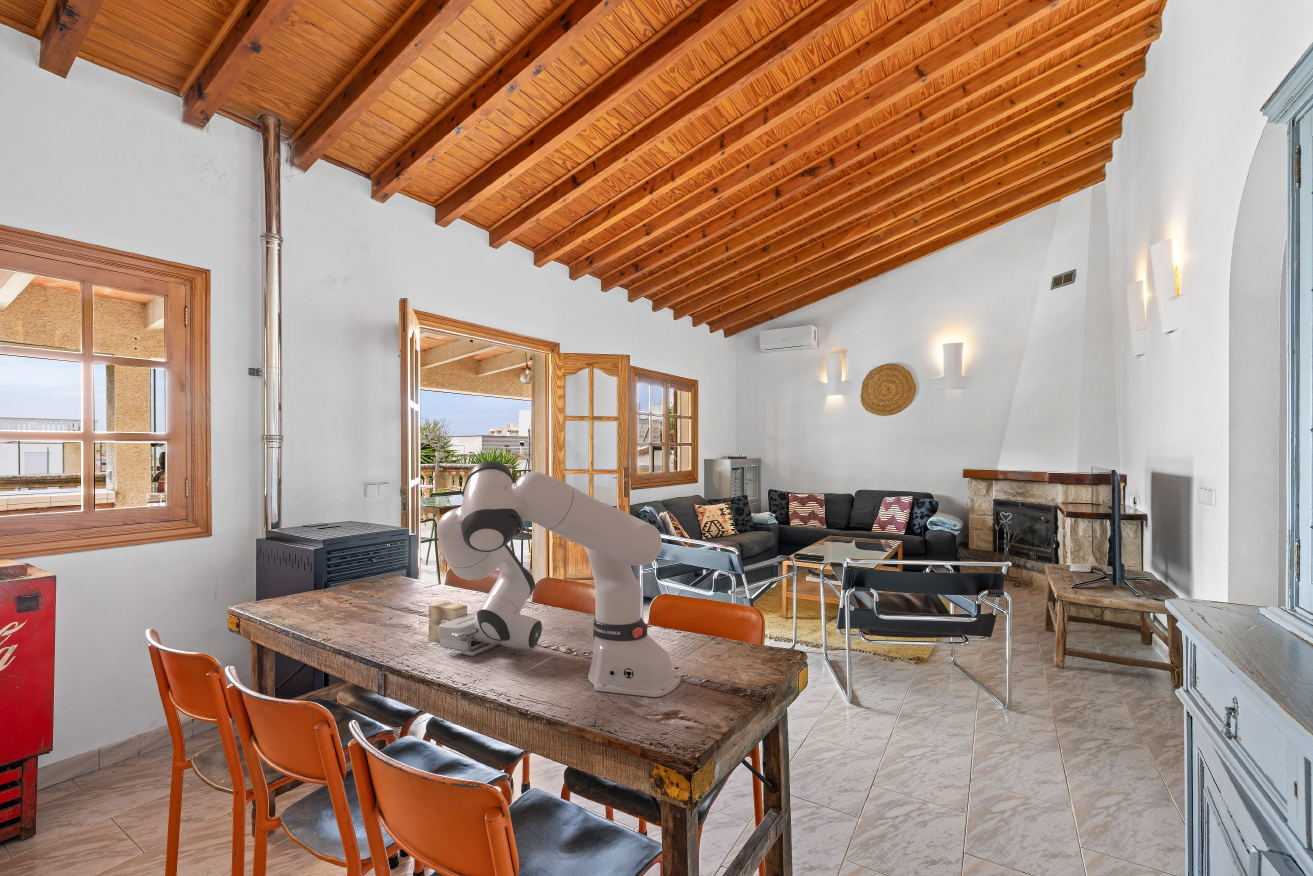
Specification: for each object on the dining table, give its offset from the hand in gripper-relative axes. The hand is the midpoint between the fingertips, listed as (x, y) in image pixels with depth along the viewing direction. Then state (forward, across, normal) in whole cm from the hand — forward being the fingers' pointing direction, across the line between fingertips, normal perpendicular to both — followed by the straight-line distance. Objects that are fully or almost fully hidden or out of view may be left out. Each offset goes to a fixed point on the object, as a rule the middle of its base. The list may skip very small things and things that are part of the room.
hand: (450, 619), depth 169 cm
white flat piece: (-5, 0, -6) cm, 8 cm away
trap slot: (-13, 0, -6) cm, 14 cm away
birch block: (+1, 0, -6) cm, 6 cm away
